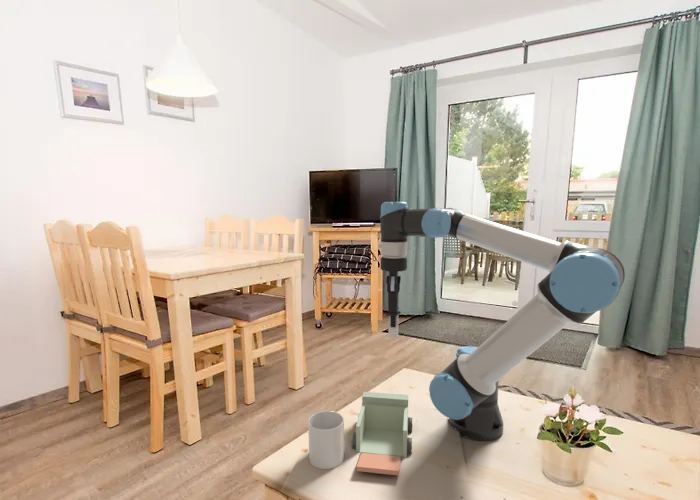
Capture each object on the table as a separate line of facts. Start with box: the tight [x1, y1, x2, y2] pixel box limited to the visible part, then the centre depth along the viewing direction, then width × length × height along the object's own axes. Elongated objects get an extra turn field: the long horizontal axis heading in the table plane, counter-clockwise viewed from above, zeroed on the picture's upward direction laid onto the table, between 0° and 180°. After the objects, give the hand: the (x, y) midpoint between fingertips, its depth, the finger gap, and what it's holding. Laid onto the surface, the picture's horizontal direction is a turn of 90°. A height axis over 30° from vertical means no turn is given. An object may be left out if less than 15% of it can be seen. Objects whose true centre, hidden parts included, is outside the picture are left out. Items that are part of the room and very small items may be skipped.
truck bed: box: [351, 391, 413, 458], centre depth 107 cm, size 15×15×10 cm
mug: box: [307, 410, 345, 470], centre depth 100 cm, size 12×9×11 cm
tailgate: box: [356, 452, 403, 476], centre depth 96 cm, size 10×2×9 cm
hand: (393, 336), depth 114 cm, fingers closed
